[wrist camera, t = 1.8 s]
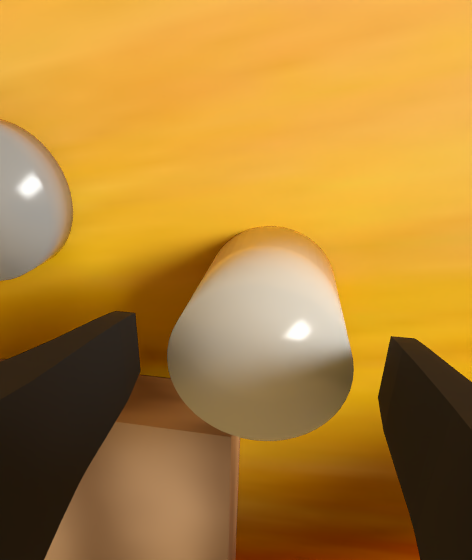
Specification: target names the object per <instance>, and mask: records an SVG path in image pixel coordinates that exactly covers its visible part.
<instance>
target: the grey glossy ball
mask: <svg viewBox="0 0 472 560" xmlns="http://www.w3.org/2000/svg"><path fill="white" fill-rule="evenodd" d="M72 221H73V206H72V198H71V194H70V190H69V187H68V183H67V181H66V178H65V176H64V174H63V172H62V170H61V168H60V166H59V165H58V163H57V161H56V160H55V159H54V157H53V156H52V155H51V153H50V152H49V151H48V150H47V149H46V147H45V146H44V145H43V144H42V143H41V142H40V141H39V140H37V139H36V138H35V137H34V136H33V135H31V134H30V133H29V132H27V131H26V130H24V129H22V128H21V127H19V126H17V125H15V124H13V123H10V122H8V121H5V120H2V119H0V281H1V280H9V279H13V278H16V277H19V276H21V275H23V274H25V273H27V272H29V271H30V270H32V269H34V268H36V267H37V266H39V265H41V264H43V263H44V262H46V261H48V260H49V259H51V258H52V257H54V256H55V255H56V254H57V253H58V252H59V251H60V250H61V249H62V247H63V246H64V245H65V243H66V241H67V239H68V237H69V234H70V231H71V226H72Z"/></svg>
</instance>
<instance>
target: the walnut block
mask: <svg viewBox="0 0 472 560" xmlns="http://www.w3.org/2000/svg"><path fill="white" fill-rule="evenodd" d="M4 360H6V359H0V362H1V361H4ZM239 448H240V437H237V436H234V435H231V434H228V433H226V432H223V431H221V430H219V429H217V428H215V427H213V426H211V425H210V424H208V423H207V422H205V421H203V420H202V419H201V418H200V417H198V416H197V415H196V414H195V413H194V412H193V411H192V410H191V409H190V408H189V407H188V406H187V405H186V404H185V403H184V401H183V400H182V399H181V397H180V396H179V394H178V392H177V391H176V389H175V387H174V385H173V382H172V380H171V379H170V378H161V377H153V376H144V375H139V376H138V378H137V381H136V383H135V386H134V388H133V390H132V393H131V395H130V397H129V399H128V401H127V403H126V405H125V407H124V408H123V410H122V412H121V413H120V415H119V417H118V418H117V420H116V422H115V424H114V425H113V427H112V428H111V430H110V432H109V433H108V435H107V437H106V438H105V440H104V442H103V443H102V445H101V447H100V448H99V450H98V452H97V453H96V455H95V457H94V458H93V460H92V462H91V463H90V465H89V467H88V468H87V470H86V472H85V474H84V476H83V477H82V479H81V481H80V483H79V485H78V487H77V489H76V491H75V493H74V495H73V498H72V500H71V502H70V504H69V506H68V508H67V510H66V512H65V514H64V517H63V519H62V521H61V523H60V525H59V528H58V530H57V532H56V534H55V537H54V539H53V541H52V543H51V546H50V548H49V550H48V552H47V555H46V557H45V559H44V560H235V556H236V530H237V503H238V475H239Z"/></svg>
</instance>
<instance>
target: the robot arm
mask: <svg viewBox="0 0 472 560" xmlns="http://www.w3.org/2000/svg"><path fill="white" fill-rule="evenodd" d="M139 373H140V360H139V349H138V338H137V327H136V316H135V313H130V312H120V311H114V312H112V313H109V314H106V315H104V316H102V317H99V318H97V319H95V320H93V321H91V322H89V323H87V324H85V325H82V326H80V327H78V328H76V329H74V330H72V331H70V332H68V333H66V334H64V335H62V336H60V337H57V338H55V339H53V340H51V341H49V342H46V343H44V344H42V345H39V346H37V347H35V348H33V349H30V350H28V351H26V352H23V353H21V354H19V355H16V356H14V357H11V358H9V359H6V360H4V361H1V362H0V560H44V559H45V557H46V555H47V552H48V550H49V548H50V546H51V543H52V541H53V539H54V537H55V534H56V532H57V530H58V528H59V525H60V523H61V521H62V519H63V517H64V514H65V512H66V510H67V508H68V506H69V504H70V502H71V500H72V498H73V495H74V493H75V491H76V489H77V487H78V485H79V483H80V481H81V479H82V477H83V476H84V474H85V472H86V470H87V468H88V467H89V465H90V463H91V462H92V460H93V458H94V457H95V455H96V453H97V452H98V450H99V448H100V447H101V445H102V443H103V442H104V440H105V438H106V437H107V435H108V433H109V432H110V430H111V428H112V427H113V425H114V424H115V422H116V420H117V418H118V417H119V415H120V413H121V412H122V410H123V408H124V407H125V405H126V403H127V401H128V399H129V397H130V395H131V393H132V390H133V388H134V386H135V383H136V381H137V378H138V376H139ZM378 400H379V407H380V413H381V419H382V424H383V430H384V434H385V437H386V440H387V444H388V447H389V450H390V453H391V457H392V460H393V463H394V466H395V469H396V472H397V476H398V479H399V482H400V485H401V488H402V491H403V494H404V498H405V501H406V504H407V507H408V510H409V513H410V517H411V521H412V525H413V528H414V532H415V536H416V541H417V546H418V550H419V555H420V560H472V382H471V381H469V380H468V379H467V378H466V377H464V376H463V375H462V374H460V373H459V372H458V371H457V370H455V369H454V368H453V367H451V366H450V365H449V364H448V363H446V362H445V361H444V360H443V359H441V358H440V357H439V356H438V355H436V354H435V353H434V352H433V351H431V350H430V349H429V348H427V347H426V346H425V345H423V344H422V343H421V342H419V341H418V340H416V339H414V338H403V337H392V336H391V339H390V343H389V348H388V353H387V357H386V362H385V367H384V372H383V376H382V381H381V386H380V390H379V395H378Z"/></svg>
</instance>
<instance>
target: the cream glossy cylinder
mask: <svg viewBox="0 0 472 560" xmlns="http://www.w3.org/2000/svg"><path fill="white" fill-rule="evenodd" d="M167 362H168V370H169V373H170V377H171V380H172V382H173V385H174V387H175V389H176V391H177V392H178V394H179V396H180V397H181V399H182V400H183V401H184V403H185V404H186V405H187V406H188V407H189V408H190V409H191V410H192V411H193V412H194V413H195V414H196V415H197V416H198V417H200V418H201V419H202V420H203V421H205V422H207V423H208V424H210V425H211V426H213V427H215V428H217V429H219V430H221V431H223V432H226V433H228V434H231V435H234V436H237V437H241V438H245V439H251V440H260V441H277V440H285V439H290V438H294V437H298V436H301V435H304V434H307V433H309V432H311V431H313V430H315V429H317V428H318V427H320V426H322V425H323V424H325V423H326V422H327V421H328V420H329V419H331V418H332V417H333V416H334V415H335V414H336V413H337V411H338V410H339V409H340V408H341V406H342V405H343V403H344V402H345V400H346V398H347V396H348V394H349V391H350V388H351V384H352V381H353V371H354V369H353V358H352V353H351V349H350V344H349V340H348V336H347V331H346V327H345V322H344V318H343V314H342V309H341V305H340V300H339V296H338V291H337V287H336V283H335V278H334V274H333V270H332V267H331V265H330V262H329V260H328V258H327V257H326V255H325V254H324V252H323V251H322V250H321V248H320V247H319V246H318V245H317V244H316V243H315V242H313V241H312V240H311V239H309V238H308V237H306V236H304V235H303V234H301V233H299V232H296V231H294V230H291V229H287V228H284V227H276V226H264V227H257V228H253V229H249V230H247V231H244V232H242V233H240V234H238V235H236V236H235V237H233V238H232V239H230V240H229V241H228V242H227V243H226V244H225V245H224V246H223V247H222V248H221V249H220V251H219V252H218V253H217V255H216V257H215V258H214V260H213V262H212V264H211V265H210V267H209V269H208V270H207V272H206V274H205V275H204V277H203V279H202V280H201V282H200V284H199V286H198V287H197V289H196V291H195V292H194V294H193V296H192V297H191V299H190V301H189V302H188V304H187V306H186V308H185V309H184V311H183V313H182V314H181V316H180V318H179V319H178V321H177V323H176V325H175V327H174V329H173V330H172V333H171V336H170V339H169V344H168V349H167Z"/></svg>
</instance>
